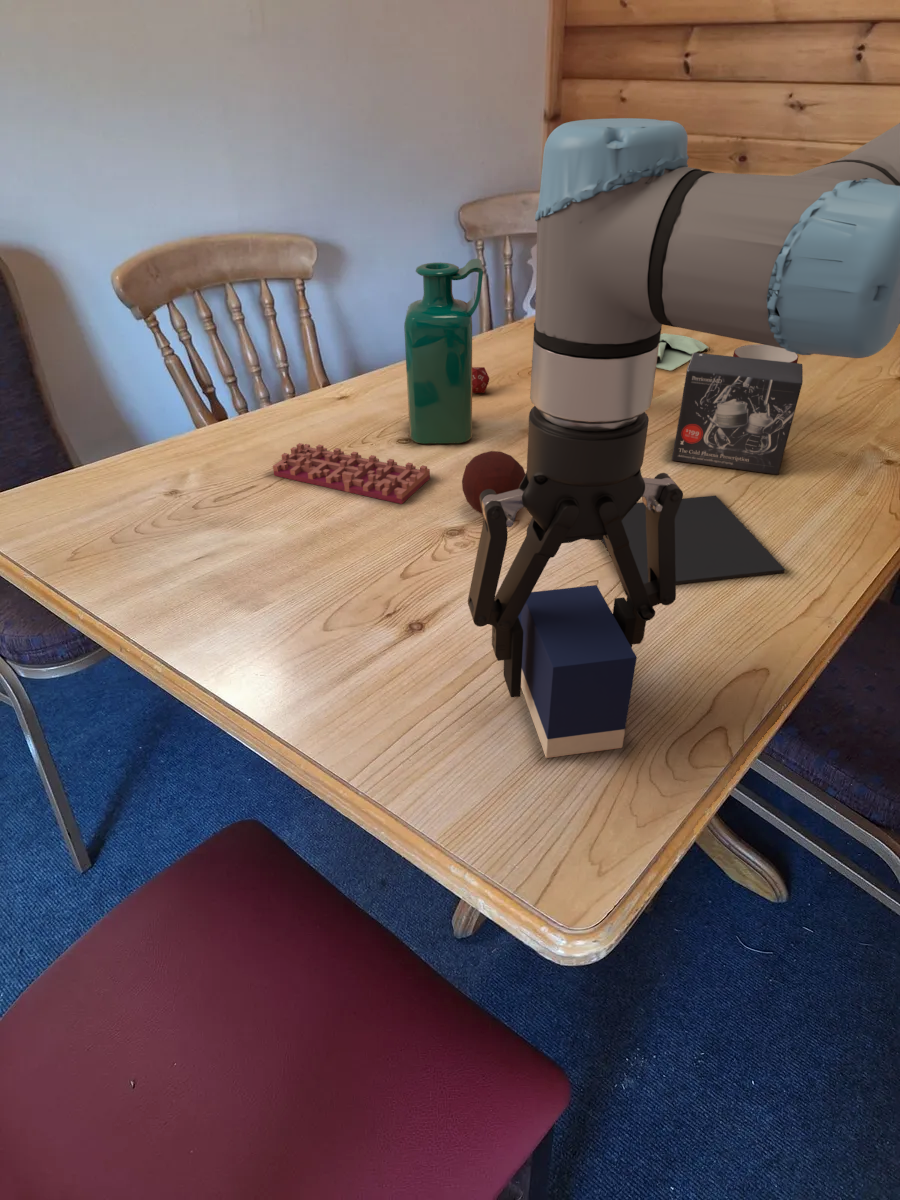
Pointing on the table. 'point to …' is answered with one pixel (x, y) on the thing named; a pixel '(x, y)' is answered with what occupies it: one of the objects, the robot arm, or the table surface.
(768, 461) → the small box
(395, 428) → the table surface
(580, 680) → the navy block
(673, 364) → the cloth
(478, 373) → the dice
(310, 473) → the chocolate bar
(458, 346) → the pitcher
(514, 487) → the dark red ball
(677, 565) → the mat
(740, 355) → the mug
